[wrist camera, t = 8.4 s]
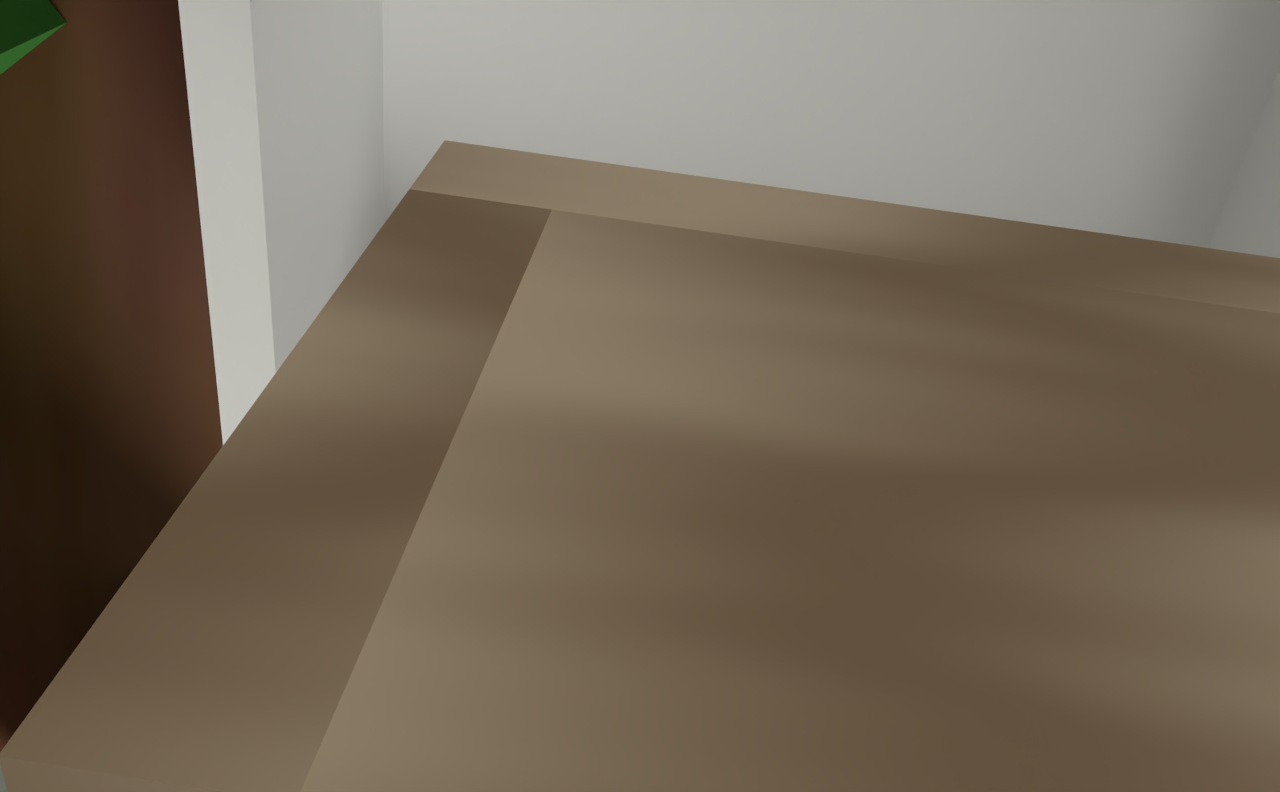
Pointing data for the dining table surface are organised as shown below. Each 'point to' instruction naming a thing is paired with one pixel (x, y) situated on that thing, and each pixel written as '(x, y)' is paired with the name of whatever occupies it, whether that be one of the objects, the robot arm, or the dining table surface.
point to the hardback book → (25, 27)
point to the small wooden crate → (715, 513)
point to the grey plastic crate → (716, 119)
